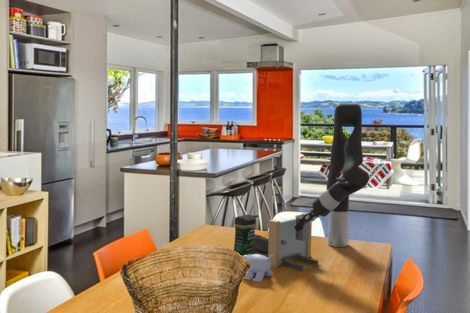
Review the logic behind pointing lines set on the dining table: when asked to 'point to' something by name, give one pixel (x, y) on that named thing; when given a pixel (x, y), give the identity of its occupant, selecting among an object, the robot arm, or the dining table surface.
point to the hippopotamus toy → (258, 267)
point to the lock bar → (302, 230)
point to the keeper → (299, 262)
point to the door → (286, 241)
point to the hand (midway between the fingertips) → (298, 227)
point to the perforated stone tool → (261, 243)
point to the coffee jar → (245, 234)
